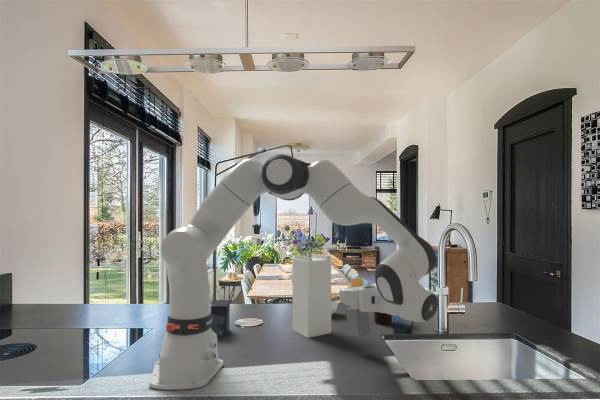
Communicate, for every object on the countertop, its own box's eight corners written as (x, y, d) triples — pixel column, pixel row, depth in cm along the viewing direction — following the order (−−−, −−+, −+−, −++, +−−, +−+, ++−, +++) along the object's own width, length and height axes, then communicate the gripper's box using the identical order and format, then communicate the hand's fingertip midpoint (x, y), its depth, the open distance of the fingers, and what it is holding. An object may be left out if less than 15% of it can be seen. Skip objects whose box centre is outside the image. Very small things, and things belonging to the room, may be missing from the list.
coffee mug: (390, 327, 150) (390, 300, 151) (368, 323, 155) (368, 297, 155) (400, 320, 160) (399, 294, 160) (379, 316, 165) (379, 292, 165)
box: (226, 336, 139) (226, 305, 139) (210, 336, 139) (210, 305, 139) (229, 329, 147) (229, 300, 147) (214, 329, 146) (214, 300, 147)
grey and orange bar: (364, 277, 125) (354, 277, 129) (353, 279, 122) (343, 278, 126) (370, 334, 122) (359, 332, 126) (358, 336, 120) (348, 334, 124)
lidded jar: (313, 310, 175) (313, 289, 175) (338, 311, 173) (338, 289, 173) (310, 317, 164) (311, 294, 164) (337, 318, 162) (337, 295, 163)
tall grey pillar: (331, 333, 143) (331, 256, 144) (307, 337, 138) (307, 257, 138) (315, 326, 151) (315, 253, 152) (292, 330, 146) (292, 255, 147)
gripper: (411, 281, 120) (378, 275, 131) (358, 289, 109) (327, 281, 120) (411, 303, 119) (378, 295, 131) (358, 313, 108) (327, 303, 120)
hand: (353, 288), depth 126 cm, fingers closed on grey and orange bar, 2 cm apart
